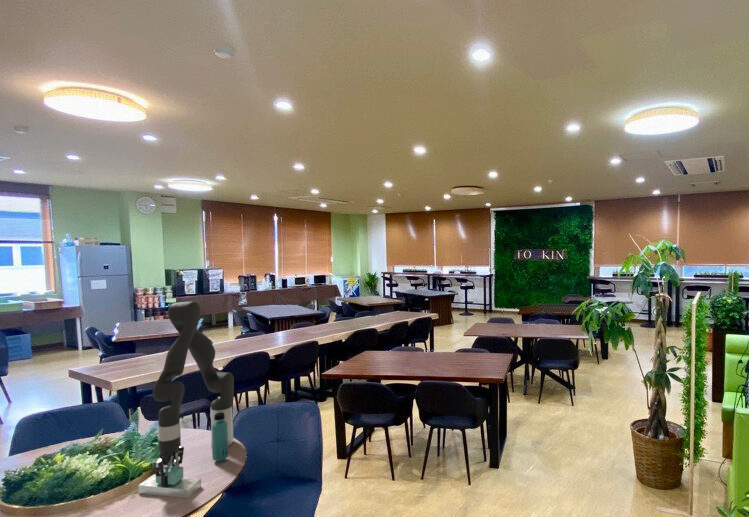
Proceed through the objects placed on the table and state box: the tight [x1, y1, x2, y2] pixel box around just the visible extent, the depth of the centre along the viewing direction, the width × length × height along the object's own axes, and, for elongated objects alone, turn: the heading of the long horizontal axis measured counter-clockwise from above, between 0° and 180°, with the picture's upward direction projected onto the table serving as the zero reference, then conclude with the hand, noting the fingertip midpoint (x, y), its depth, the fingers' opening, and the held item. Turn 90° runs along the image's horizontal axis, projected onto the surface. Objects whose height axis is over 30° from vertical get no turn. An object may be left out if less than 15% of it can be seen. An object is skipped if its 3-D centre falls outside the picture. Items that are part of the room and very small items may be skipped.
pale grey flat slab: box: [137, 473, 202, 499], centre depth 156 cm, size 8×20×3 cm, turn 79°
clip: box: [156, 465, 184, 486], centre depth 156 cm, size 8×5×6 cm
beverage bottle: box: [211, 413, 229, 462], centre depth 179 cm, size 6×7×20 cm
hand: (169, 481), depth 156 cm, fingers closed on clip, 5 cm apart
